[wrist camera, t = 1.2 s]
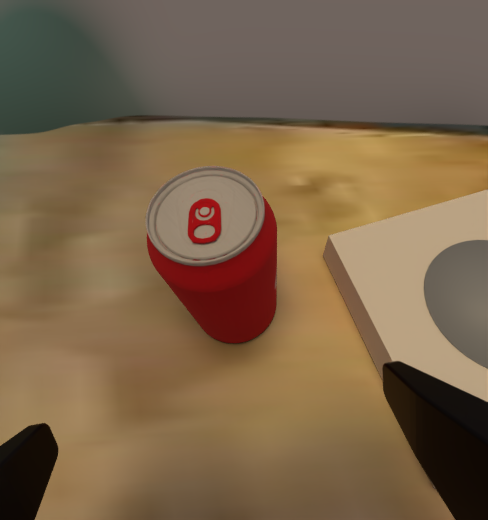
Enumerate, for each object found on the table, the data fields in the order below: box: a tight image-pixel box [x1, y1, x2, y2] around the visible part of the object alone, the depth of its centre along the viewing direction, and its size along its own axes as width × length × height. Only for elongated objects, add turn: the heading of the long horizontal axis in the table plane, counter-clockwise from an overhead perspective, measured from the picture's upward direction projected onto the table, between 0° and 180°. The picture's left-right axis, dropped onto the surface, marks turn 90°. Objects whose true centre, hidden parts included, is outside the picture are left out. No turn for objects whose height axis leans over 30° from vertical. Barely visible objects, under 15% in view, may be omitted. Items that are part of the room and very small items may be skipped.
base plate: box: [323, 190, 488, 489], centre depth 20 cm, size 16×16×3 cm
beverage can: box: [146, 166, 277, 343], centre depth 18 cm, size 6×6×12 cm
